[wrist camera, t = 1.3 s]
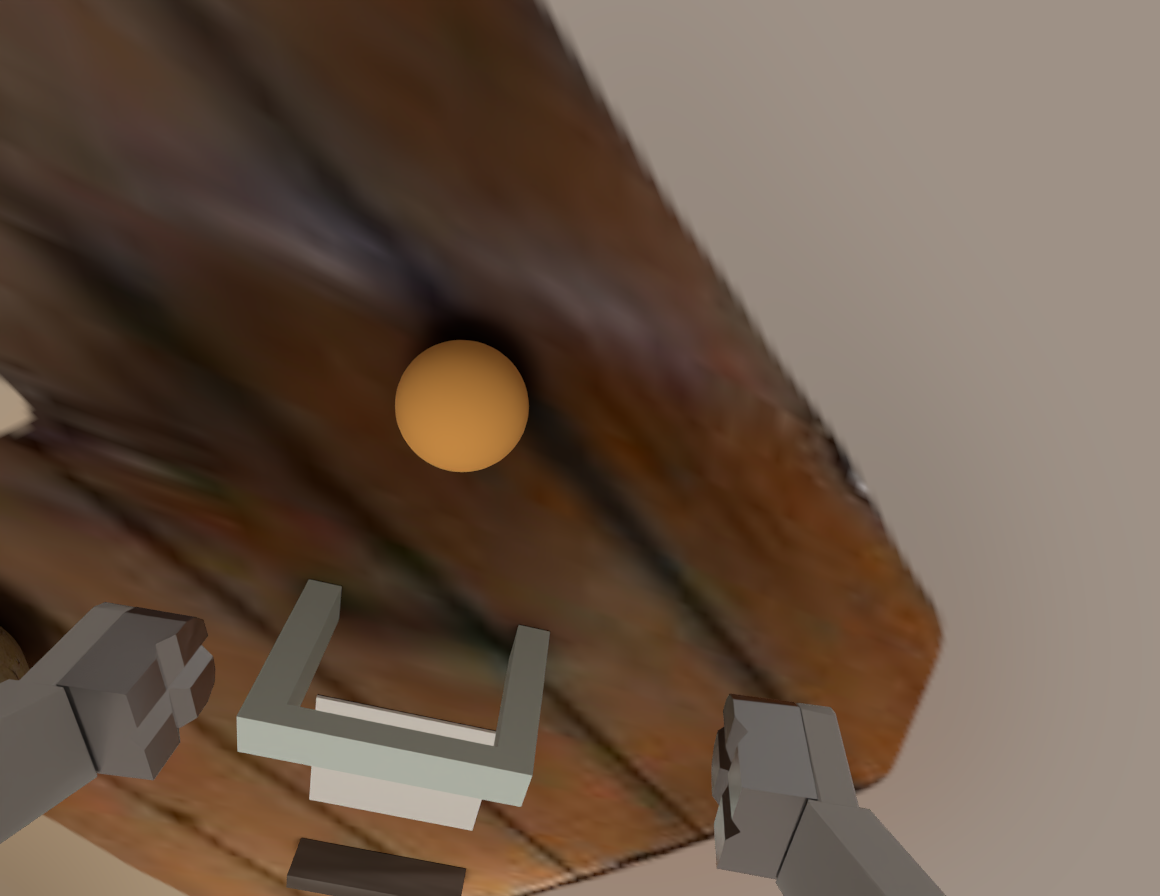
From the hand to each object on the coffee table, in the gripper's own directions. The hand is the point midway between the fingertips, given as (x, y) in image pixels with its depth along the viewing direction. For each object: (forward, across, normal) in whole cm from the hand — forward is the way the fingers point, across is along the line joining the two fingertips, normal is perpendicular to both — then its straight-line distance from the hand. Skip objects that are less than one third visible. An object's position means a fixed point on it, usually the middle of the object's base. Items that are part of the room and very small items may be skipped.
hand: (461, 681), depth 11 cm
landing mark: (+26, +11, +40) cm, 49 cm away
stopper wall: (+27, +13, +54) cm, 62 cm away
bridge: (+25, +8, +24) cm, 36 cm away
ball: (+21, +5, +7) cm, 23 cm away
